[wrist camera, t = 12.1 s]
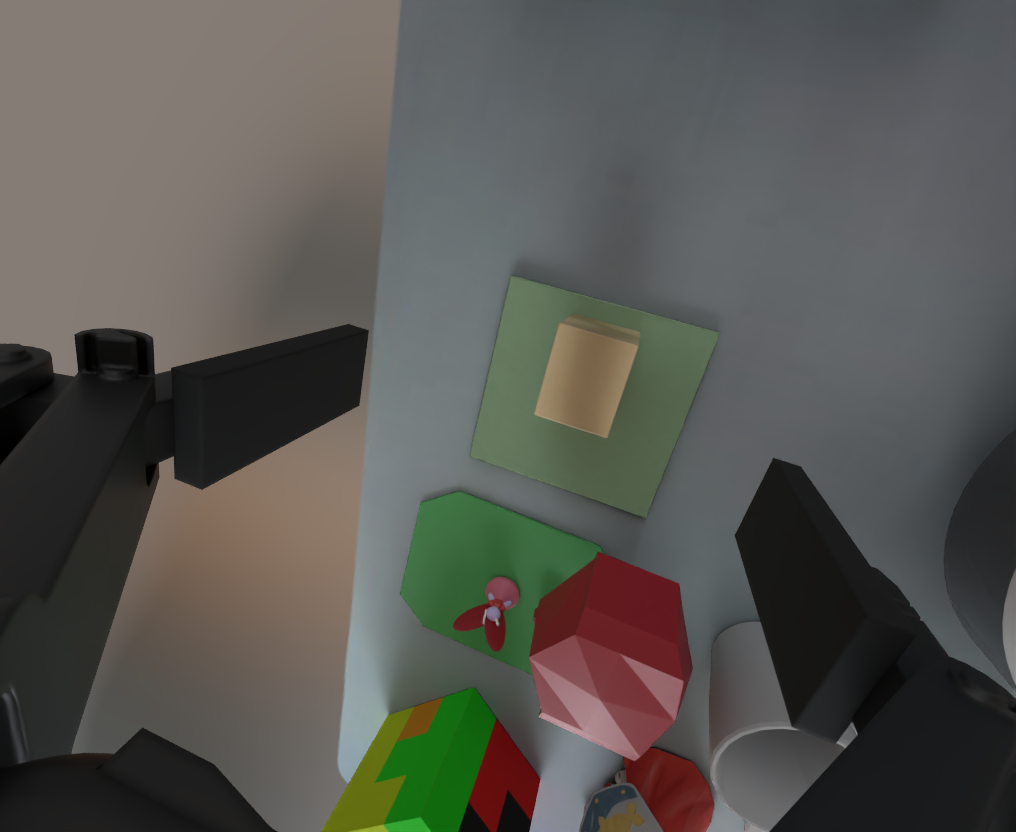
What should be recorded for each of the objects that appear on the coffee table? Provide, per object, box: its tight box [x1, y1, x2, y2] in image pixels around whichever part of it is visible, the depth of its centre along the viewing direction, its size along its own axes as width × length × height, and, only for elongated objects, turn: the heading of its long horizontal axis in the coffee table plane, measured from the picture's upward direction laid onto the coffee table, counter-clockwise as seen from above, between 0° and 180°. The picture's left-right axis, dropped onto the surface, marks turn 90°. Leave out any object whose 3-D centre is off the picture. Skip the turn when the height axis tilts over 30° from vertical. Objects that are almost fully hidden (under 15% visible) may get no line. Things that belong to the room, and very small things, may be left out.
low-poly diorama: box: [400, 491, 693, 761], centre depth 31 cm, size 15×20×9 cm
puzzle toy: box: [321, 687, 540, 832], centre depth 37 cm, size 10×10×10 cm
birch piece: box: [534, 313, 641, 438], centre depth 26 cm, size 4×5×4 cm
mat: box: [470, 276, 720, 518], centre depth 30 cm, size 12×12×1 cm
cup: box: [709, 621, 858, 832], centre depth 28 cm, size 8×10×8 cm
